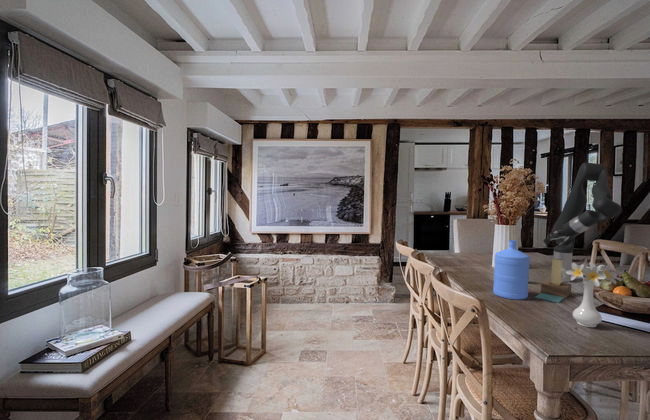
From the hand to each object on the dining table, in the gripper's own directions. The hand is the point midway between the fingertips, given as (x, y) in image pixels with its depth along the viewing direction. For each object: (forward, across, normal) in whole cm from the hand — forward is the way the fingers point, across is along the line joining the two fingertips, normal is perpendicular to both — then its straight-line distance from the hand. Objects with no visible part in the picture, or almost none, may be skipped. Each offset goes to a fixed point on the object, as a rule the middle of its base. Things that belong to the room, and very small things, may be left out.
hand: (550, 242), depth 184 cm
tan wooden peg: (+12, -1, +24) cm, 27 cm away
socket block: (+12, -1, +24) cm, 27 cm away
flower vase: (-15, +28, +48) cm, 58 cm away
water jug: (+16, +25, +24) cm, 38 cm away
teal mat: (+8, +10, +28) cm, 31 cm away
